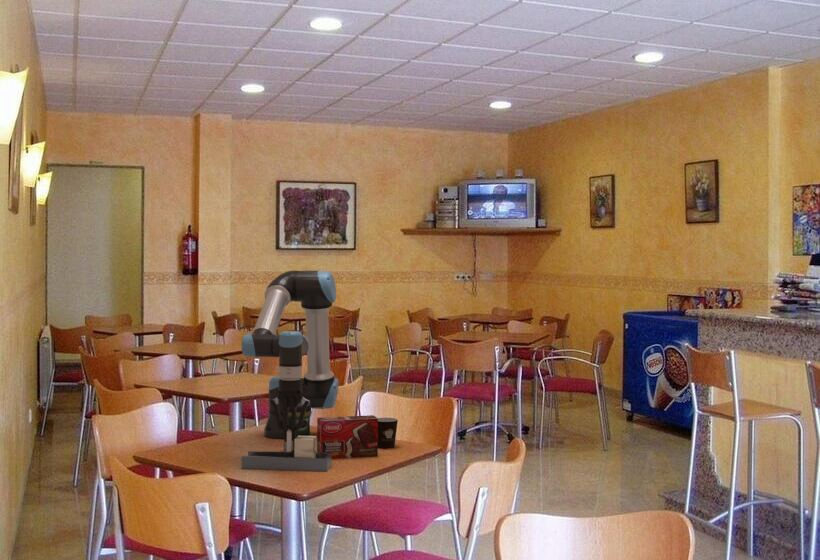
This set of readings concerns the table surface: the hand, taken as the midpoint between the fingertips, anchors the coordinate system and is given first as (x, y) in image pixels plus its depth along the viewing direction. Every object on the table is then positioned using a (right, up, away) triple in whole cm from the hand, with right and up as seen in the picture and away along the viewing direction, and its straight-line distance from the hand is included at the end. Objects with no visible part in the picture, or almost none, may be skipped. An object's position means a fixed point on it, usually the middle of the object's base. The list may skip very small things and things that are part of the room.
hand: (289, 450), depth 299 cm
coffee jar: (0, -5, +21) cm, 22 cm away
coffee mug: (+29, -5, +34) cm, 45 cm away
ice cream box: (+18, -6, +18) cm, 26 cm away
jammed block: (+5, -4, 0) cm, 6 cm away
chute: (-1, -5, 0) cm, 5 cm away
